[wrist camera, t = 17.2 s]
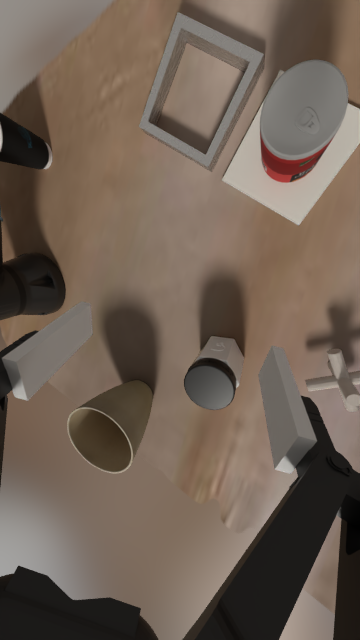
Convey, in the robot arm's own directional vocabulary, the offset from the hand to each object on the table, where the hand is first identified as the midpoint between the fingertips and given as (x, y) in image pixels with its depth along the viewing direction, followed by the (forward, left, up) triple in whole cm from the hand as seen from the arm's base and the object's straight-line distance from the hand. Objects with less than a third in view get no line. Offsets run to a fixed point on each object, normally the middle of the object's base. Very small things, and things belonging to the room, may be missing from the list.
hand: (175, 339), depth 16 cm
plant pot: (-3, -35, -28) cm, 45 cm away
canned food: (-3, +20, -27) cm, 34 cm away
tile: (-3, +20, -27) cm, 34 cm away
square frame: (-19, +20, -27) cm, 39 cm away
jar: (+7, -13, -28) cm, 31 cm away
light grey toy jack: (+23, -2, -28) cm, 36 cm away
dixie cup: (-46, +1, -28) cm, 54 cm away
